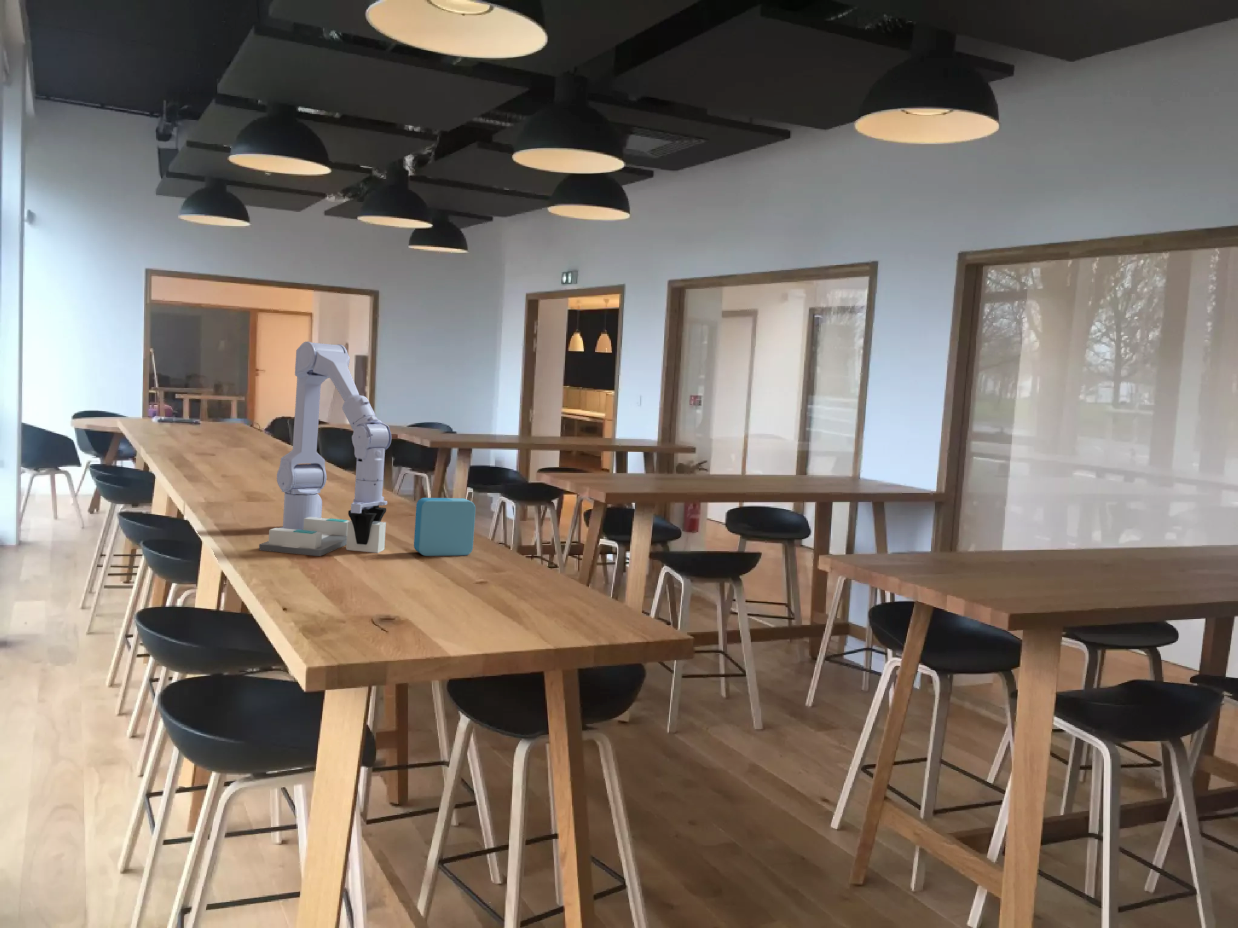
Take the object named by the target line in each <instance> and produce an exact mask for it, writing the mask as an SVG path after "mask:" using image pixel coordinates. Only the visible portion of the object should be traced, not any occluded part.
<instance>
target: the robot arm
mask: <svg viewBox="0 0 1238 928" xmlns="http://www.w3.org/2000/svg"><path fill="white" fill-rule="evenodd" d="M350 360H351V357H350V355H349V353H348V350H347V348H346V347H345V345H343V344H332V343H331V344H330V343H321V342H320V343H319V342H311V341H303V342H302V343H301V344H300V346H299V347H298V348H297V349H296V351H295V365H294V376H295V377H296V392H295V406H294V408H295V409H294V423H293V424H294V425H293V437H292V439H293V441H292V449H291V450H290V451H289V452H288V453H286V454H285V455H283V456H282V457H281V458H280V463H279V467H278V470H277V473H276V482H277V485H278V487H279V489H280V490H281V493H284V497H283V498H284V499H283V519H282V521H283V522H282V526H281V527H279V528H284V529H294V530H302V529H303V528H304V518H307V517H317V518H322V515H323V514H322V511H323V500H322V498H321V496H320V495H319V494H321V491H322V490H323V489H324V487H325V485H326V483H327V477H328V476H327V471H326V460H325V458H324V457H323V456H322V455H320V454H319V453H318V451H317V449H318V435H319V433H318V432H319V420H320V419H319V418H320V404H321V401H320V400H321V388H322V384H323V383H324V382H325V381H326V380H327V379H330V381H331V382H332V384H333V386H334V387H335V389H336V390H337V391H338V393H339V395H340V396H341V398H342V399H343V401H344V402H343V404H342V407H341V408H342V411H343V414H344V415H345V417H346V420H347V422H348V423H349V425H350V427H351V429H352V431H353V432H352V435H351V441H352V442H351V443H352V445H353V447H354V457H355V458H356V465H355V482H354V483H355V484H354V486H355V487H354V499H353V500H352V503H350V509H349V510H348V511H347V513H348V514H347V515H348V517H349V518H350V521H352V524H353V527H354V531H355V537H356V542H357V544H364V545H366V544H367V543H368V540H369V535H370V529H371V525H372V522H373V521H380V522H382V519H383V517H384V516H385V514H386V513H387V508H386V507H380V506H386V505H388V500H385V496H383V488H384V473H385V472H384V469H385V455H386V454H385V453H386V450H388V449H389V447H390V446H391V443H392V432H391V429H390V426H389V425H388V424H386V423H385V422H383V421H382V420H380V419H379V418H378V417H377V414H376V412H375V411H374V409H373V407H372V406H371V403H370V400H369V399H368V398H367V397H366V396H365V395H360V393H359V390H358V388H357V386H356V384H355V380H354V379H353V375H352V374H351V371H350V368H349V366H350Z"/></svg>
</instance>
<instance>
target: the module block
mask: <svg viewBox="0 0 1238 928" xmlns="http://www.w3.org/2000/svg"><path fill="white" fill-rule="evenodd" d="M348 521H349V522H348V525H347V543H346V545H345V546H346V547H345V550H347V551H355V552H364V553H366V552H367V553H375V554H379V553H381V552H382V551H384V550H385V547H386V545H385V543H386V526H387V522H386V521H385V522H384V521H381V522H380V521H373V522H372V525H371V529H370V535H369V540H368V543H367V544H366V545H364V544H357V542H356V537H355V531H354V527H353V524H352V521H351V520H348Z"/></svg>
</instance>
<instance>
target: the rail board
mask: <svg viewBox="0 0 1238 928" xmlns="http://www.w3.org/2000/svg"><path fill="white" fill-rule="evenodd" d="M349 521H350V520H348V519H342V518H341V519H339V518H332V517H331V518H324V517H321V518H317V517H307V518H304V528H303V529H302V530H294V529H284V528H280V527H274V528H271V529H268V540H267V541H265V542H262V543H259V544H258V551H266V552H274V553H276V552H277V553H284V554H285V553H287V554H293V555H294V554H295V555H305V556H314V557H315V556H316V557H321V556H323V555H326V554H328V553H331V552H334V551H335V550H338V549H340V548H342V547H345V546H346V543H347V525H348V522H349Z"/></svg>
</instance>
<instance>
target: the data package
mask: <svg viewBox="0 0 1238 928" xmlns="http://www.w3.org/2000/svg"><path fill="white" fill-rule="evenodd" d="M415 506H416V507H415V521H414V522H415V523H414V538H413V548H414V549H415V551H416V552H417V553H419V554H420V555H422V556H423V557H440V556H441V557H444V556H447V557H450V556H451V557H452V556H453V557H454V556H469V555H470V554H471V553H472V552H473V549H474V538H475V537H474V535H475V524H476V523H475V522H476V505H475V503H474V502H473V501H471V500H469V499H467V498H464V497H463V498H462V497H453V498H452V497H422V498H420V499H418V500H417V502H416V505H415Z"/></svg>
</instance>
